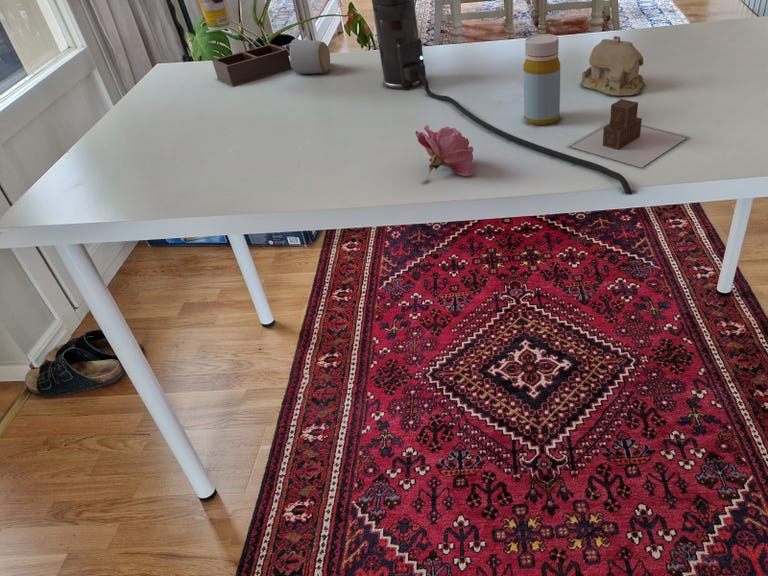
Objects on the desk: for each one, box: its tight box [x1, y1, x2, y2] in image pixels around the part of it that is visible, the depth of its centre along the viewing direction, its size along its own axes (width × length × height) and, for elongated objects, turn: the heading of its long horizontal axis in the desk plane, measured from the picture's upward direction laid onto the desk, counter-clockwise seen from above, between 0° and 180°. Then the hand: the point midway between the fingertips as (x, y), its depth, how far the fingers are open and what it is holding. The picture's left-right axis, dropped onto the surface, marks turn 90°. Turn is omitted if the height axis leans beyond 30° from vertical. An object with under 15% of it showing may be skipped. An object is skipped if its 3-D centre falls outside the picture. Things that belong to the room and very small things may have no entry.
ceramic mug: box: [289, 38, 331, 75], centre depth 159 cm, size 11×8×8 cm
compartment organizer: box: [211, 43, 293, 87], centre depth 161 cm, size 9×16×5 cm, turn 132°
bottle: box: [522, 33, 561, 126], centre depth 123 cm, size 7×7×15 cm
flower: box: [414, 124, 474, 183], centre depth 111 cm, size 11×10×10 cm
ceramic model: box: [581, 35, 645, 97], centre depth 136 cm, size 14×11×10 cm
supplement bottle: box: [198, 0, 233, 32], centre depth 140 cm, size 5×5×10 cm
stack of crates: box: [570, 98, 687, 169], centre depth 115 cm, size 15×15×7 cm
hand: (212, 0), depth 140 cm, fingers closed on supplement bottle, 5 cm apart
